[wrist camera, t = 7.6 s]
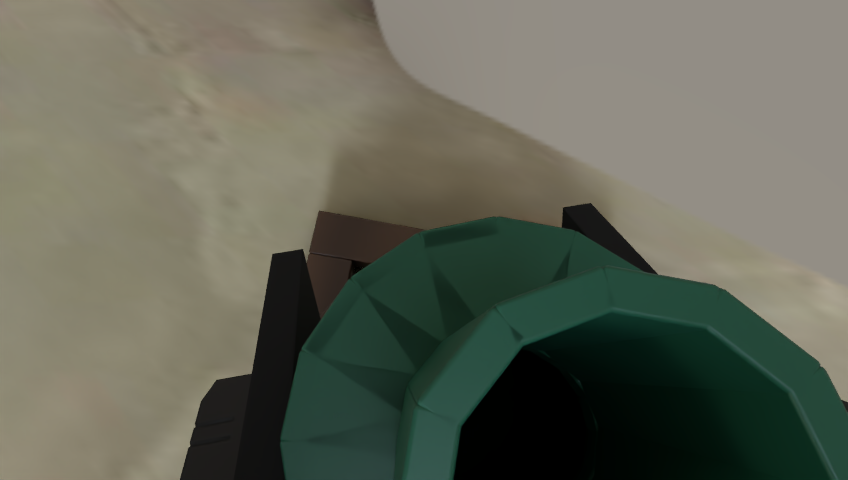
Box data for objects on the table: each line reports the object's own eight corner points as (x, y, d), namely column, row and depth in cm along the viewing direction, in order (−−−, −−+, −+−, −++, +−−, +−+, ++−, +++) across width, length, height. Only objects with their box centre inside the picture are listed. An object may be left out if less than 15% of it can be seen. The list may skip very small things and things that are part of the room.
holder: (251, 533, 20) (214, 572, 16) (324, 220, 23) (308, 190, 19) (576, 592, 20) (619, 646, 16) (606, 271, 23) (647, 251, 19)
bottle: (342, 465, 21) (-53, 1119, 3) (376, 298, 22) (271, -2, 4) (510, 495, 21) (1258, 1356, 3) (531, 326, 22) (1079, 145, 4)
